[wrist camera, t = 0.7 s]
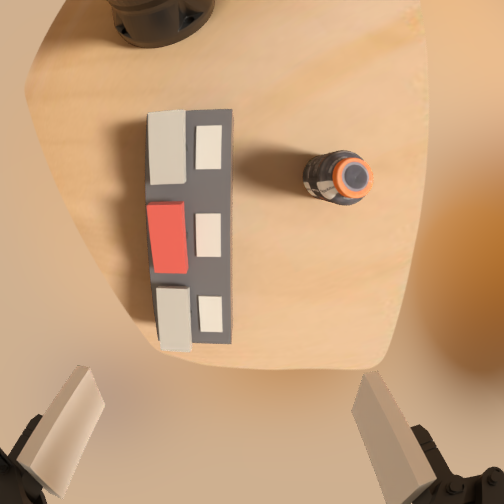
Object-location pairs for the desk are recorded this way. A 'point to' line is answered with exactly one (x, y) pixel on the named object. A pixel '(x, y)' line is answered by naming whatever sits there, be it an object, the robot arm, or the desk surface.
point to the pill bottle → (338, 177)
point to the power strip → (202, 224)
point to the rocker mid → (168, 236)
